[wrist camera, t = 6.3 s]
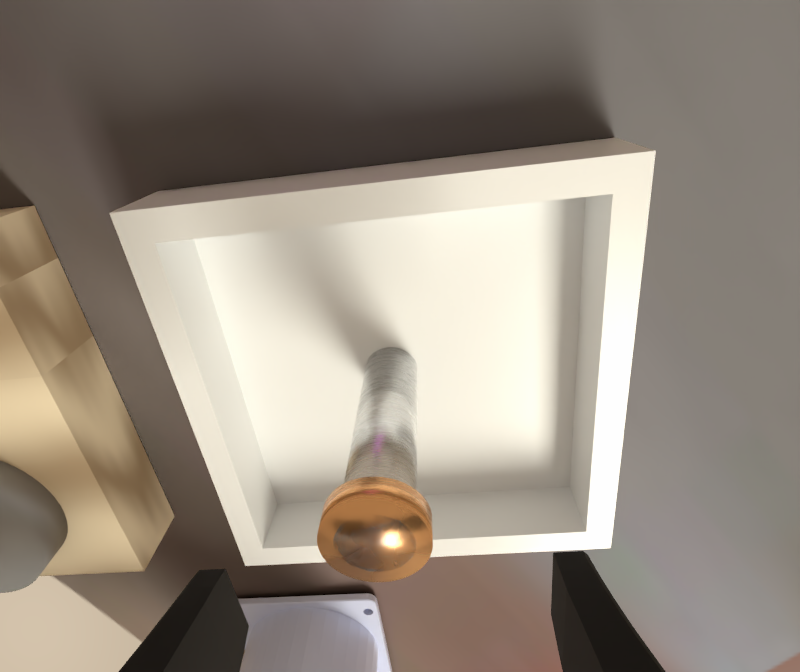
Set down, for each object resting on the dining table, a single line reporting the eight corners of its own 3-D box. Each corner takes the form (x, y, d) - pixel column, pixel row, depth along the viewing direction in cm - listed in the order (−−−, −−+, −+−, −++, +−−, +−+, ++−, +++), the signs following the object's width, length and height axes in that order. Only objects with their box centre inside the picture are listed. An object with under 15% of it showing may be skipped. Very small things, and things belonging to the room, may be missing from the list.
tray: (588, 492, 22) (610, 548, 20) (264, 510, 24) (245, 565, 21) (615, 137, 16) (655, 151, 13) (158, 190, 17) (109, 212, 14)
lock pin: (431, 396, 20) (438, 579, 13) (361, 402, 20) (329, 584, 13) (423, 334, 18) (426, 497, 11) (349, 341, 19) (305, 505, 12)
